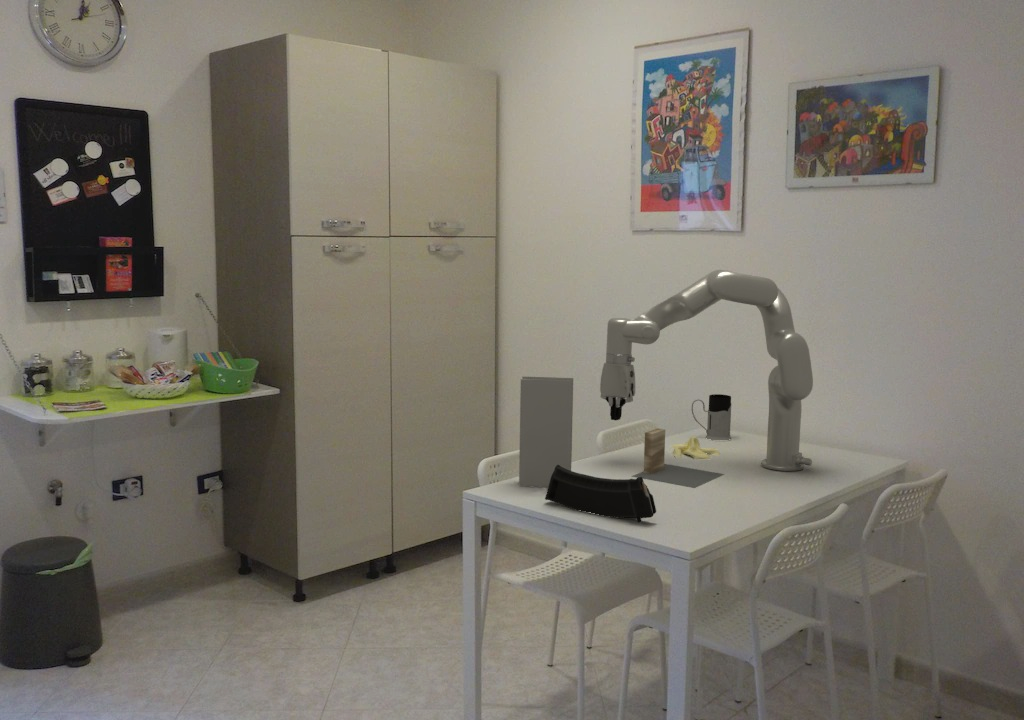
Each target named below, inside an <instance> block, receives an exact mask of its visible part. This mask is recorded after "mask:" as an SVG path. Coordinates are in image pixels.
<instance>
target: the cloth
mask: <svg viewBox="0 0 1024 720" xmlns="http://www.w3.org/2000/svg"><path fill="white" fill-rule="evenodd" d="M700 446H701V443H700V441H699V438H698V437H697V436H690V438H689V439H688V440H687V441H685V442H684V443H678V444H677V443H675V444H672V445H670V446H669V447H673V448H674V449H673V452H672V453H673V455H675V456H676V457H680V456H681V457H682V455H685V454H687V455H686V456H689V455H690V456H689V457H692V458H693V457H694V458H693V460H697V459H711V460H712V458H711V456H710V455H712V454H715V455H714V456H716V455H719V456H720V455H721V453H720V450H719V449H717V448H716V447H715V448H709V447H708V448H707V447H706V448H705V447H700ZM670 450H671V449H669V451H670ZM681 453H683V454H681ZM706 453H707V454H706ZM676 457H675V458H676ZM681 457H680V458H681Z"/></svg>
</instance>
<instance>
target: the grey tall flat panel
mask: <svg viewBox="0 0 1024 720" xmlns="http://www.w3.org/2000/svg"><path fill="white" fill-rule="evenodd" d="M519 403H520V405H519V409H520V410H519V455H518V456H519V459H518V460H519V461H518V463H519V467H518V471H519V472H518V474H519V476H518V487H528V486H533V487H532V488H534V487H535V488H548V486H549V483H550V479H551V476H552V474H553V472H554V470H555V467H556V466H557V465H560V466H561V467H563V468H565V469H567V470H570V471H572V455H573V454H572V452H573V412H574V411H573V410H574V409H573V408H574V406H573V405H574V378H573V377H555V376H553V377H551V376H549V377H548V376H547V377H546V376H545V377H544V376H522V379H520V401H519Z"/></svg>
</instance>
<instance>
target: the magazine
mask: <svg viewBox="0 0 1024 720" xmlns="http://www.w3.org/2000/svg"><path fill="white" fill-rule="evenodd" d="M544 500H545V501H551V502H553V503H556V504H559V505H561V506H564V507H566V508H569V509H571V510H575V509H576V510H575V511H578V510H581V511H580V512H582V511H586V512H591V513H595V514H594V515H596V514H599V515H598V516H601V515H604V516H603V517H606V516H610V517H609V518H616V517H618V518H617V519H627V520H628V519H631V520H634V519H635V520H636V521H637V522H638V523H641V522H642V519H648V518H652V517H653V516H654V515H655V514H656V513H657V508H656V504H655V500H654V496H653V494H652V493H651V492H650V489H649V488H648V485H647V484H645V481H644V479H643V478H642V477H638V478H637V477H636V478H630V479H626V478H625V479H623V478H622V479H621V478H620V479H615V478H604V477H598V476H597V477H596V476H591V475H588V474H583V473H580V472H575V471H573V470H571V471H570V470H567V469H565V468H563V467H561V466H560V465H557V466H556V467H555V470H554V472H553V474H552V476H551V479H550V483H549V486H548V487H547V490H546V495H545V497H544ZM586 512H585V513H586ZM591 513H590V514H591Z"/></svg>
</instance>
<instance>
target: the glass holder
mask: <svg viewBox="0 0 1024 720" xmlns="http://www.w3.org/2000/svg"><path fill="white" fill-rule="evenodd" d="M698 401H700V402H701V403H702V409H703V411H704V412H705V413H707V423H706V424H707V425H706V426H707V428H706V427H705V426H704V425H702V424H701V423H700V422H699V421H698V420H697V418H696V415H694V404H695V402H698ZM705 408H706V407H705V402H704V401H703V400H701V399H698V398H697V399H694V400H693V401H692V403H691V414H692V417H693V418H694V421H695V422H696V423H697V424H698V425H700V426H701V427H702V429H704V430H705V431H706V435H705V439H706V438H707V439H706V440H708V439H711V440H710V441H713V440H729V439H731V440H732V437H731V419H732V396H731V395H727V394H721V393H717V394H716V393H715V394H713V393H712V394H710V395H708V409H707V410H706V409H705ZM729 441H730V440H729Z"/></svg>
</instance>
